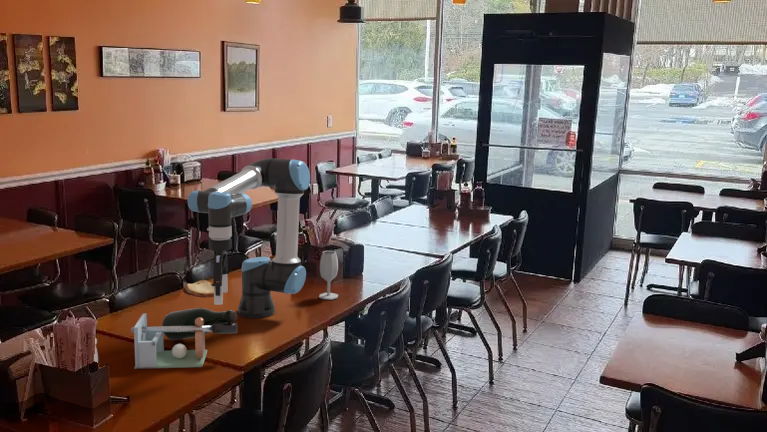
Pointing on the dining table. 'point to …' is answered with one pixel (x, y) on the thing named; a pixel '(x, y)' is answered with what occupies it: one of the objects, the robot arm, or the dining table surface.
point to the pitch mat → (178, 360)
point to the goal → (146, 344)
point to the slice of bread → (200, 289)
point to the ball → (179, 351)
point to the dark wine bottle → (189, 319)
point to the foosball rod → (198, 330)
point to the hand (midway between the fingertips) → (221, 298)
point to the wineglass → (328, 272)
